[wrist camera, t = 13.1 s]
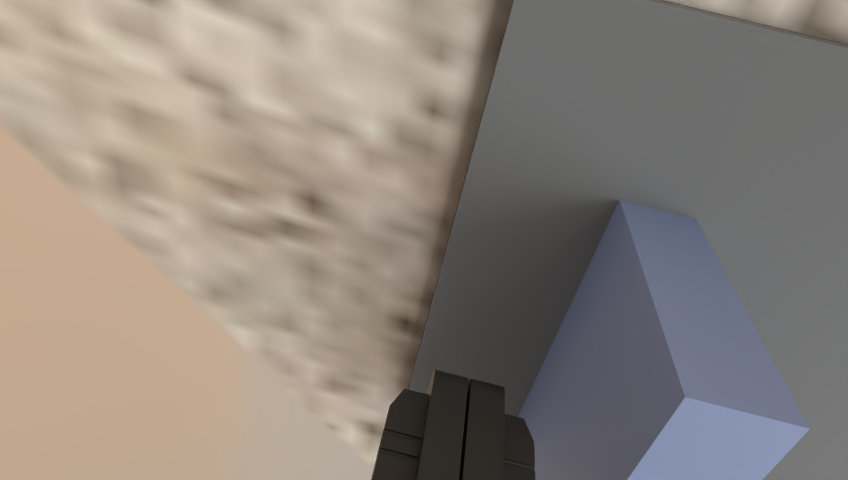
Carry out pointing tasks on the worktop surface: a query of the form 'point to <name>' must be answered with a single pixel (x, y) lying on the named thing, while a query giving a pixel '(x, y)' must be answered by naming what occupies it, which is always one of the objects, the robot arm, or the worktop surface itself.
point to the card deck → (658, 367)
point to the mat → (655, 191)
